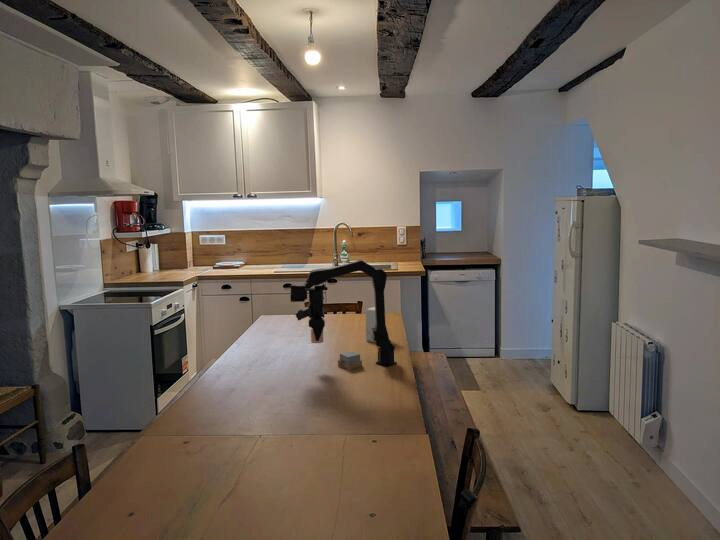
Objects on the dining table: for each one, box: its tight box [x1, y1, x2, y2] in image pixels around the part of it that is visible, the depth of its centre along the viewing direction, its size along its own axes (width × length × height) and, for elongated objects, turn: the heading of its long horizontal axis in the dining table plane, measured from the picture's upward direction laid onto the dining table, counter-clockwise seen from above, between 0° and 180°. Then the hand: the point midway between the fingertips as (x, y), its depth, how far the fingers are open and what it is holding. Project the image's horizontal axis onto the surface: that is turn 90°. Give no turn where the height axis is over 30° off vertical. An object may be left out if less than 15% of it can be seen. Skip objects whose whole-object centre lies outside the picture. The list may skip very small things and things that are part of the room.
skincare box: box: [365, 306, 376, 343], centre depth 259 cm, size 8×7×16 cm
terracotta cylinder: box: [310, 328, 324, 344], centre depth 218 cm, size 5×5×5 cm
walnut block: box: [337, 359, 363, 371], centre depth 220 cm, size 7×7×3 cm
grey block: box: [339, 350, 361, 363], centre depth 220 cm, size 6×6×2 cm
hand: (317, 339), depth 218 cm, fingers closed on terracotta cylinder, 5 cm apart
